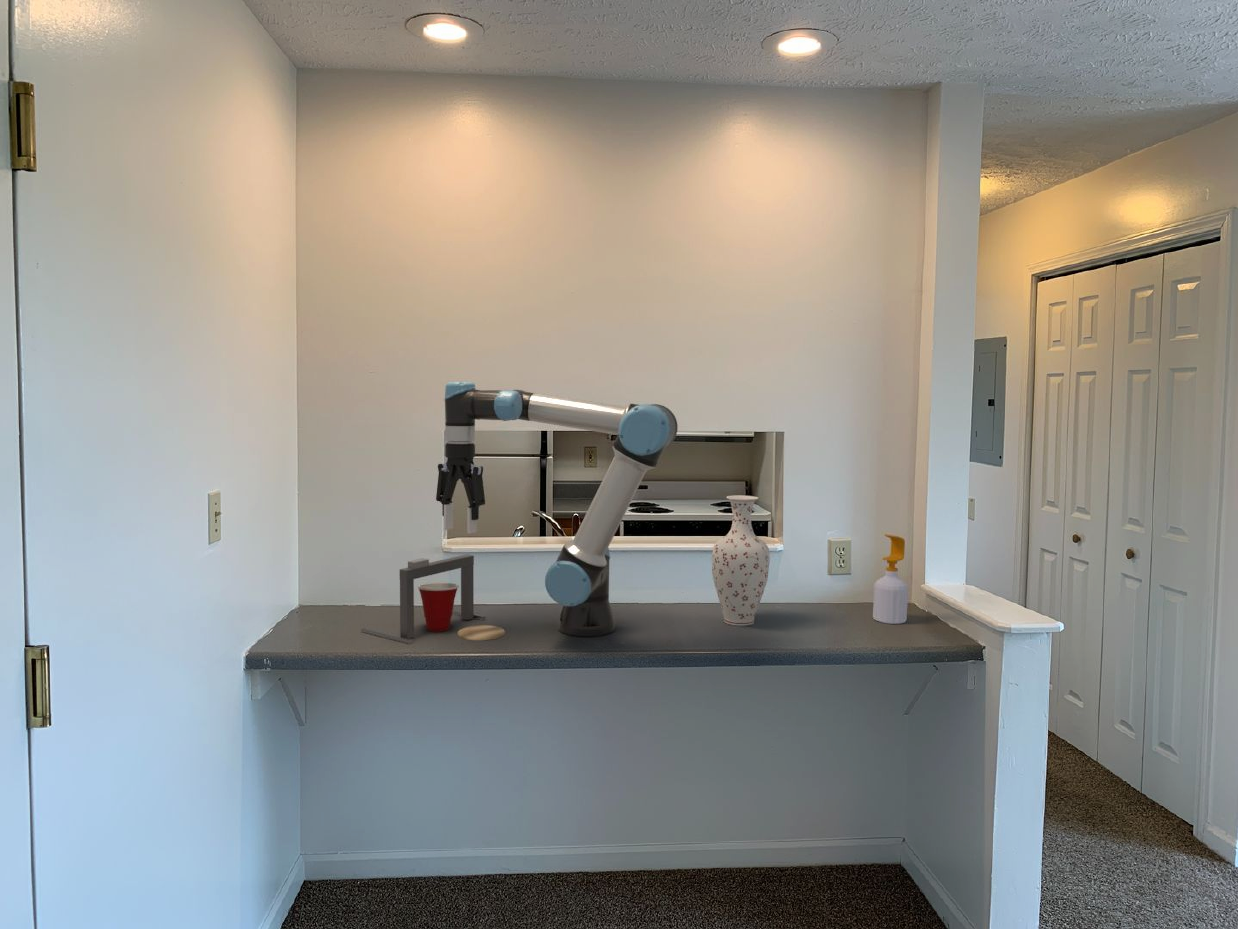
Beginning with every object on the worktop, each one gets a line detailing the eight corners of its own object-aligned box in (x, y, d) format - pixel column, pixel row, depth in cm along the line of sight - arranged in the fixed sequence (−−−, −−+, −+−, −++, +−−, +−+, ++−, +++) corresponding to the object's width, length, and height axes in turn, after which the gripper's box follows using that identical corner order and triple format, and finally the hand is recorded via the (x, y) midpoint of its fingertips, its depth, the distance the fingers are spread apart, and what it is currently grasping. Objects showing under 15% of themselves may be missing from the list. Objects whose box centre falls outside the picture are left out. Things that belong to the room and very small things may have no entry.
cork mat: (513, 632, 226) (514, 630, 225) (482, 643, 216) (482, 641, 215) (479, 625, 232) (479, 622, 232) (448, 635, 222) (448, 633, 222)
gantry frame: (473, 618, 238) (473, 549, 236) (407, 639, 217) (406, 564, 215) (466, 616, 239) (466, 548, 237) (400, 637, 219) (399, 563, 217)
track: (485, 619, 238) (485, 615, 238) (409, 643, 214) (409, 640, 214) (438, 609, 247) (438, 606, 247) (361, 631, 224) (360, 628, 224)
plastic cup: (462, 623, 234) (462, 580, 232) (455, 634, 223) (455, 589, 222) (422, 622, 234) (422, 579, 232) (413, 634, 223) (413, 588, 222)
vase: (699, 617, 243) (702, 494, 240) (748, 611, 250) (751, 492, 247) (728, 632, 229) (732, 502, 226) (779, 626, 235) (783, 499, 232)
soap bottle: (866, 619, 243) (870, 533, 241) (884, 614, 250) (887, 530, 247) (895, 626, 237) (899, 538, 235) (912, 620, 243) (916, 535, 241)
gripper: (500, 443, 217) (500, 533, 219) (441, 439, 228) (442, 525, 230) (479, 445, 211) (479, 537, 213) (420, 441, 222) (421, 528, 224)
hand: (460, 530), depth 221 cm, fingers open, 8 cm apart
